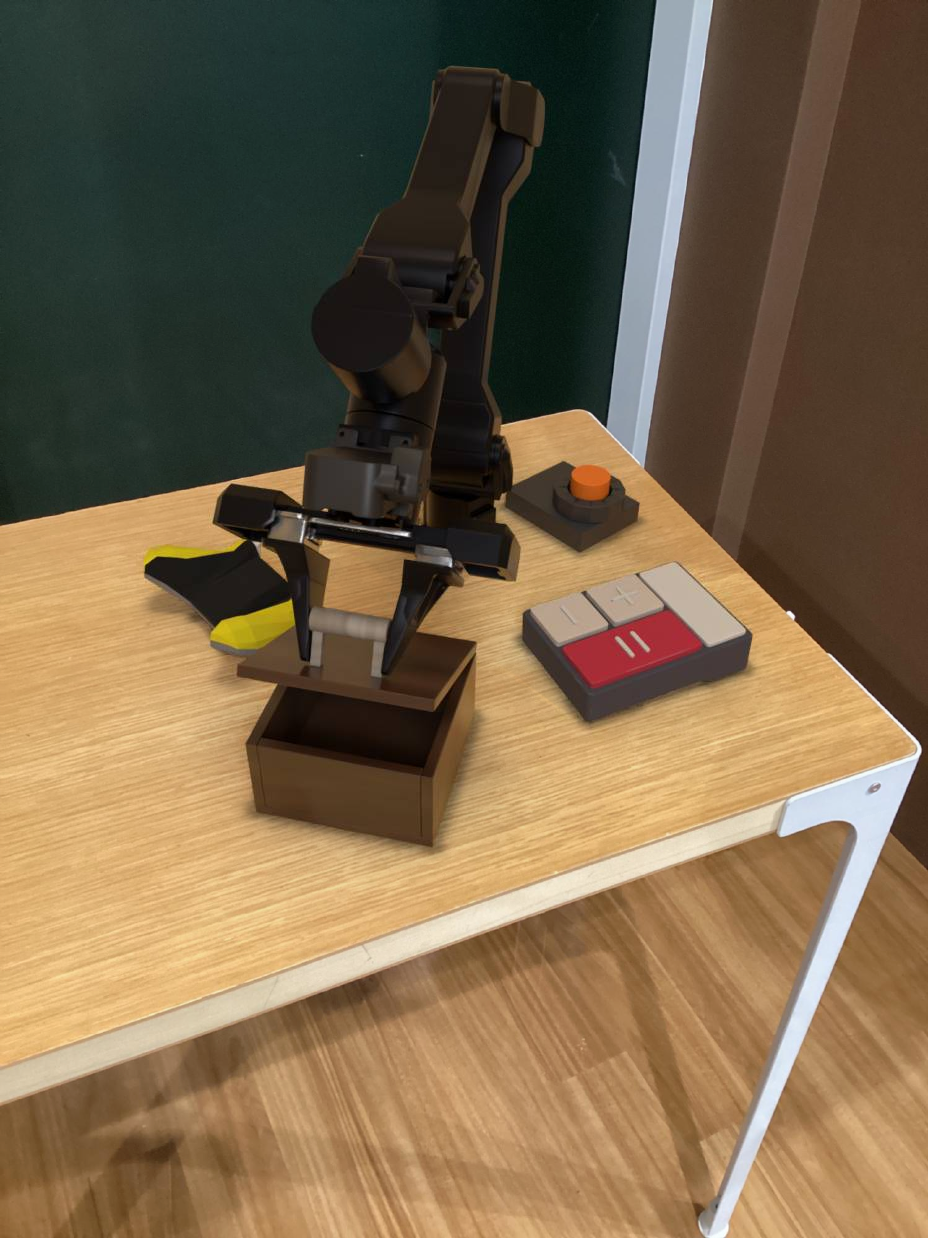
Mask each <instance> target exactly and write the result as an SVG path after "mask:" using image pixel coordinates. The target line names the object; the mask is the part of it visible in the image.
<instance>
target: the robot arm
mask: <svg viewBox="0 0 928 1238" xmlns="http://www.w3.org/2000/svg"><path fill="white" fill-rule="evenodd" d="M430 94H431V95H430V106H429V118H428V123H427V126H426V130H425V131H424V135H423V138H422V142H421V145H420V147H419V150H418V154H417V157H416V159H415V162H414V166H413V168H412V172H411V174H410V178H409V181H408V182H407V183H408V184H407V186H406V190H405V191H404V193H403V196H402V198H401V199H399V200H398V201H397V202H394V203H393V204H391V205H389V206H388V207H386V208H385V209H383V210H381V211H380V212H379V213H378V214H377V215H376V216H375V217H374V220H373V223H372V224H371V227H370V229H369V231H368V233H367V235H366V237H365V239H364V241H363V244H362V246H359V247H358V248H357V249H356V250H355V252H354V254H353V255H352V258H351V259H350V261H349V263H348V265H347V267H346V268H345V270H344V272H343V274H342V275H341V277H340V279H338V280H337V281H336V282H335V283H333V284H332V285H330V286H329V287H328V289H326V291H325V292H324V293H323V294H322V295H321V296H320V298H319V300H318V302H317V304H316V305H315V306H314V307H313V310H312V314H311V322H310V323H311V324H310V325H311V326H310V331H311V335H312V340H313V343H314V344H315V346H316V349H317V350H318V353H319V354H320V355H321V357H323V359H324V361H325V362H326V363H327V364H328V366H329V367H330V368H331V370H332V371H333V373H335V375H336V376H337V378H338V379H339V380H340V382H341V383H342V384H343V386H344V387H345V388H346V389H347V390H348V391H349V397H348V404H347V409H346V414H345V418H344V423H338V427H337V429H336V431H335V435H334V440H333V443H332V445H331V447H322V448H318V449H313V450H309V451H306V452H305V456H304V457H305V460H304V473H303V486H302V497H301V498H302V499H301V504H300V503H299V502H298V501H296V499H294V498H293V497H291V496H289V495H288V494H287V493H286V492H284V491H283V490H278V489H273V488H265V487H259V486H254V485H253V486H252V485H246V484H238V483H230V484H229V485H228V486H227V487H226V488H224V490H223V491H222V492H220V494H219V496H218V497H217V498H216V503H215V507H214V512H213V513H214V514H213V517H212V522H211V523H212V525H215V526H216V527H218V528H220V529H222V530H224V531H226V532H228V533H230V534H231V535H234V536H236V537H237V538H239V539H240V540H243V539H245V540H249V541H253V542H260V543H261V547H263V548H264V549H265V550H268V551H270V552H272V553H274V554H275V555H276V556H277V557H278V559H279V562H280V563H281V566H282V568H283V570H284V573H285V578H286V581H287V582H288V585H289V589H290V593H291V599H292V605H293V612H294V619H295V626H296V633H297V641H298V648H299V655H300V659H301V660H302V661H306V662H310V657H311V644H312V631H311V630H310V629H309V616H310V612H311V610H312V608H313V607H314V606H320V607H324V601H325V595H326V589H327V582H328V577H329V571H330V565H331V559H330V558H329V557H327V556H326V555H324V554H322V553H321V552H320V549H321V547H322V546H323V542H324V541H326V542H332V543H338V544H340V543H341V544H347V545H353V546H358V547H363V548H364V547H365V548H371V549H379V550H384V551H389V552H397V553H404V554H411V555H414V556H413V557H415V560H414V559H407V558H404V559H403V563H402V564H403V565H402V575H401V585H400V591H399V594H398V598H397V601H396V605H395V608H394V611H393V616H392V618H391V619H392V623H391V626H390V630H389V633H388V637H387V640H386V644H385V648H384V653H383V660H382V667H381V674H382V675H386V676H389V675H390V674H391V673H392V671H393V670H394V668H395V666H396V665H397V663H398V661H399V659H400V658H401V656H402V654H403V653H404V651H405V649H406V648H407V646H408V644H409V643H410V641H411V639H412V638H413V636H414V634H415V633H416V632H418V629H419V628H420V626H421V625H422V623H423V621H424V620H425V618H426V617H427V616H428V614H429V613H430V612H431V610H432V609H433V608H434V607H435V606H436V604H437V603H438V602H439V600H440V599H441V598H442V597H443V595H444V594H445V593H446V591H447V590H448V589H449V588H450V587H453V588H463V587H464V585H465V580H466V579H465V578H464V577H463V571H464V570H465V571H466V574H467V575H468V576H471V577H477V578H483V579H489V580H495V581H503V582H517V578H518V571H519V566H520V560H521V549H522V547H521V544H520V543H519V541H518V539H517V537H516V535H515V534H514V532H513V531H512V529H511V528H510V527H509V525H508V524H507V523H502V522H497V507H496V506H495V501H500V500H501V498H502V495H503V494H506V492H508V491H511V490H512V486H513V485H514V484H513V483H514V467H513V460H512V453H511V452H512V451H511V449H510V446H509V444H508V443H509V442H508V441H507V438H506V435H502V434H501V433H502V422H503V421H502V420H503V415H502V412H501V410H500V408H499V406H498V404H497V401H496V399H495V397H494V394H493V392H492V390H491V388H490V385H489V383H488V382H489V372H490V365H491V364H490V363H491V356H492V355H491V354H492V345H493V336H494V328H495V321H496V320H495V319H496V310H497V302H498V292H499V283H500V277H501V268H502V267H501V266H502V257H503V248H504V240H505V232H506V223H507V214H508V207H509V206H508V205H509V203H510V201H511V200H512V198H514V196H515V194H516V193H517V191H518V190H519V189H520V187H521V186H522V185H523V183H524V182H525V180H526V179H527V178H528V176H529V175H530V173H531V171H532V164H533V158H534V151H535V147H536V148H539V147H541V145H542V141H543V136H544V129H545V128H544V127H545V117H546V102H545V101H546V100H545V98H544V97H543V95H542V93H541V91H540V89H538V88H537V87H533V86H532V83H531V82H530V81H520V80H514V79H511V77H510V76H509V74H508V73H501V72H500V69H498V68H486V67H470V66H457V65H449V66H447V67H446V68H445V69H438V70H437V73H436V75H435V79H433V80H432V82H431V93H430ZM428 329H434V330H435V329H436V330H440V333H439V343H438V346H437V344H435V343H434V341H432V340H431V339H430V338H429V336H428ZM421 507H422V524H421V518H420V513H421Z"/></svg>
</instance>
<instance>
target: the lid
mask: <svg viewBox="0 0 928 1238" xmlns="http://www.w3.org/2000/svg"><path fill="white" fill-rule="evenodd" d="M392 619H393V618H391V617H387V616H380V615H374V614H369V613H362V612H358V611H357V612H356V611H350V610H344V609H338V608H331V607H326V606H323V607H320V606H314V607H313V608H312V610H311V612H310V616H309V629H310V630H311V631H312V644H311V657H310V662H306V661H302V660H301V659H300V655H299V648H298V641H297V633H296V626H295V625H294V626H292V627H291V628H290V629H288V630H287V631H285V632H284V633H282V634H281V635H280V636H278V637H277V638H275V639H274V640H272V641H271V642H270V643H268V644H267V645H265V646H264V647H262V648H261V649H260V650H258V651H257V652H255V653H254V654H252V655H251V656H250V657H248V658H247V657H246V658H245V659H244V660H242V661H241V662H239V663H238V664H237V666H236V677H237V678H241V679H247V680H252V681H258V682H263V683H268V684H275V685H277V684H280V685H285V686H291V687H297V688H302V689H308V690H313V691H319V692H325V693H330V694H336V695H341V696H347V697H353V698H358V699H364V700H369V701H375V702H381V703H386V704H392V705H397V706H403V707H408V708H414V709H420V710H425V711H431V712H434V710H435V709H436V708H437V706H438V705H439V703H440V702H441V701H442V699H443V698H444V696H445V695H446V693H447V692H448V691H449V689H450V688H451V686H452V685H453V684H454V682H455V681H456V679H457V678H458V676H459V675H460V674H461V672H462V671H463V669H464V668H465V666H466V665H467V664H468V662H469V661H470V659H471V658H472V657H473V655H474V654H475V652H476V653H477V647H478V642H477V641H476V640H471V639H470V640H469V639H464V638H458V637H453V636H452V637H451V636H445V635H439V634H434V633H433V634H432V633H427V632H423V631H422V632H421V631H416V633H415V634H414V636H413V638H412V639H411V641H410V643H409V644H408V646H407V648H406V649H405V651H404V653H403V654H402V656H401V658H400V659H399V661H398V663H397V665H396V666H395V668H394V670H393V671H392V673H391V674H390V675H389V676H386V675H382V674H381V667H382V660H383V653H384V648H385V644H386V640H387V637H388V633H389V630H390V626H391V623H392Z"/></svg>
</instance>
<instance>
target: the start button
mask: <svg viewBox="0 0 928 1238" xmlns="http://www.w3.org/2000/svg"><path fill="white" fill-rule="evenodd" d="M610 475H611V474H610V471H608V470H607V469H606V468H605V467H602V466H599V465H594V464H583V465H579V466H576V468H575V469H574V470H573V471H572V474H571V485H570V491H571V493H572V495H574V496H575V497H577V498H579V499H584V500H589V501H594V500H602V499H604V498H606V497H607V496H608V494H609V487H610V479H611V476H610Z"/></svg>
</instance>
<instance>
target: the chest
mask: <svg viewBox="0 0 928 1238" xmlns="http://www.w3.org/2000/svg"><path fill="white" fill-rule="evenodd" d="M476 672H477V651H476V652H475V654H474V655H473V657H472V658H471V659H470V661H469V662H468V664H467V665H466V666H465V668H464V669H463V671H462V672H461V674H460V675H459V676H458V678H457V679H456V681H455V682H454V684H453V685H452V686H451V688H450V689H449V691H448V692H447V693H446V695H445V696H444V698H443V699H442V701H441V702H440V703H439V705H438V706H437V708H436V709H435V710H434V712H431V711H425V710H420V709H414V708H408V707H403V706H397V705H392V704H386V703H381V702H375V701H369V700H364V699H358V698H353V697H347V696H341V695H336V694H330V693H325V692H319V691H313V690H308V689H302V688H297V687H291V686H285V685H280V684H276V686H275V688H274V689H273V692H272V693H271V695H270V697H269V699H268V700H267V703H266V705H265V706H264V708H263V710H262V712H261V714H260V715H259V717H258V719H257V721H256V723H255V725H254V726H253V728H252V730H251V732H250V734H249V735H248V737H247V739H246V741H245V745H244V746H245V751H246V757H247V763H248V770H249V777H250V781H251V788H252V795H253V801H254V807H255V812H256V813H259V814H265V815H269V816H275V817H280V818H285V819H289V820H295V821H300V822H305V823H308V824H309V823H310V824H315V825H319V826H325V827H330V828H334V829H339V830H345V831H350V832H355V833H360V834H363V835H364V834H365V835H368V836H369V835H371V836H375V837H379V838H384V839H389V840H395V841H399V842H405V843H409V844H415V845H419V846H425V847H431V848H433V847H434V844H435V842H436V838H437V835H438V832H439V829H440V826H441V823H442V820H443V817H444V813H445V811H446V808H447V804H448V801H449V798H450V795H451V792H452V790H453V789H452V788H453V786H454V783H455V780H456V777H457V773H458V770H459V767H460V765H461V761H462V758H463V755H464V752H465V749H466V746H467V742H468V739H469V736H470V733H471V731H472V727H473V723H474V720H475V708H476V707H475V703H476V701H475V700H476V679H477V677H476V675H477V673H476Z"/></svg>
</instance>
